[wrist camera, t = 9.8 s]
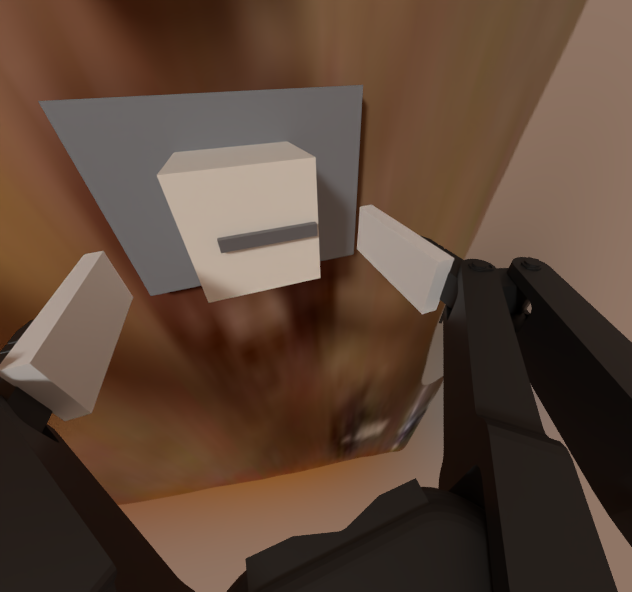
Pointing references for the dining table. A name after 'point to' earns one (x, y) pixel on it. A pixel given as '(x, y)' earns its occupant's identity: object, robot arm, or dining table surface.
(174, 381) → the dining table surface
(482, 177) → the dining table surface
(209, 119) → the board
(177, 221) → the cream slotted box
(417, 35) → the dining table surface
